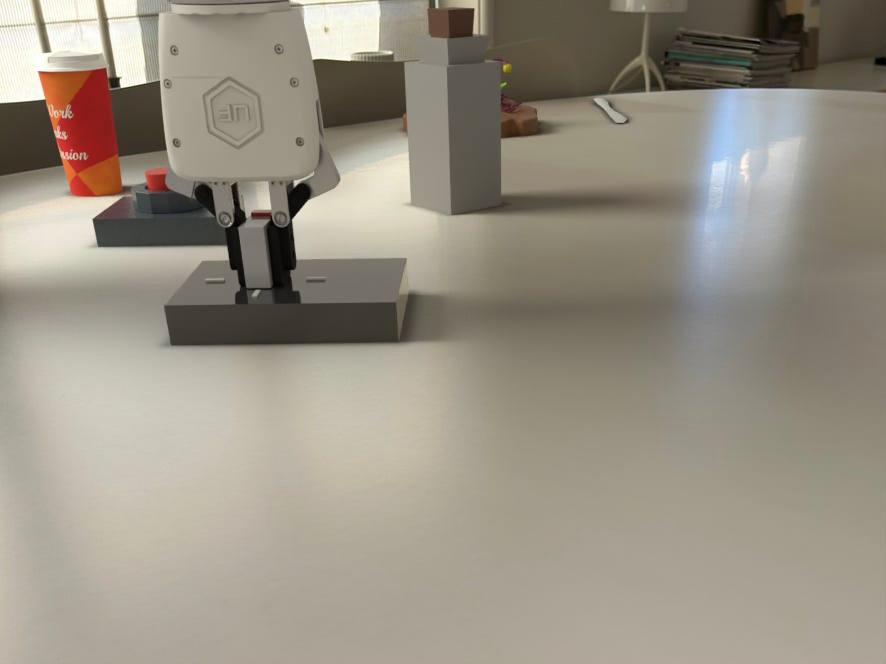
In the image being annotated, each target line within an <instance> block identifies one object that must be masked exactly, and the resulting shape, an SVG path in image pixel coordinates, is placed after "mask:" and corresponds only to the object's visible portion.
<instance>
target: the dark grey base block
mask: <svg viewBox="0 0 886 664" xmlns="http://www.w3.org/2000/svg"><path fill="white" fill-rule="evenodd" d="M192 271H193V272H191V274H190V275H189V276H188V277H187V278H186V280H184V282H183V283H182V284H181V285H180V286H179V287H178V288H177V290H176V291H175V292H174V293H173V294H172V295H171V297H170V298H169V299H168V300H167V302H166V303H164V305H163V309H164V313H165V314H164V315H165V321H166V326H167V332H168V337H169V344H170V346H227V345H229V346H231V345H233V346H235V345H239V346H241V345H302V344H305V345H307V344H309V345H310V344H371V343H373V344H376V343H379V344H380V343H381V344H383V343H399V342H400V338H401V334H402V333H401V332H402V328H403V322H404V318H405V314H406V309H407V304H408V300H409V294H410V291H409V274H408V273H409V272H408V258H407V257H377V258H376V257H375V258H373V257H372V258H371V257H369V258H366V257H365V258H311V259H309V258H305V259H303V258H302V259H301V258H300V259H296V269H295V270H291V275H290V277H289V278H288V279H287V281H286V282H285V284H284V285H276V284H275V283H274V285H273V286H272V287H271V288H246V285H239V281H238V274H237V270H231V268H230V263H229V260H202V261H201V262H200V263H199V264H198V266H197V267H196V268H195V269H194V270H192Z"/></svg>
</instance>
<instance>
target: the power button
mask: <svg viewBox="0 0 886 664" xmlns="http://www.w3.org/2000/svg"><path fill="white" fill-rule="evenodd" d="M167 169H168V166H165V167H156V168H149V169H147V170H146V171H144V176H145V180H146V182H147V187H148V190H154V191H167V190H171V189H169V188H168V187H167V186H166V183H165V178H166V174H167Z"/></svg>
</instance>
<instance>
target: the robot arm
mask: <svg viewBox="0 0 886 664" xmlns="http://www.w3.org/2000/svg"><path fill="white" fill-rule="evenodd" d="M166 1H167V2H168V3H170V9H171V10H169V11H162V12H161V11H160V12H159V13H158V21H157V23H158V24H157V25H158V26H157V28H158V29H157V35H158V36H157V39H158V40H157V43H158V44H157V45H158V47H157V48H158V50H157V51H158V53H157V54H158V69H159V70H158V71H159V86H160V100H161V110H162V111H161V113H162V121H163V122H162V123H163V131H164V139H165V147H166V153H167V158H168V164H167V167H168V169H167V174H166V178H165V183H166V186H167V187H168V188H169V189H171V190H173V191H175V192H178V193H180V194H183V195H185V196H188V197H190V198H194V199H197V201H198V202H199V203H201V204H202V205H203V206H204V207H205V208H206V209H207V210H208V211H209V212H210V213H211V214H213V215H214V216H215V217H216V218H217V221H218V223H219V224H220V225H221V226H222V227H224V228H225V235H226V242H227V245H226V248H227V254H228V261H229V263H230V268H231V270H237V274H238V281H239V285H246V281H245V274H244V266H243V259H242V252H241V244H240V237H239V230H238V227H239V226H240V225H241V224H242V223H243V222H244V221H245V220H246V219H247V218H248V217H247V216H246V215H245V214H246V211H245V212H244V211H243V208H242V201H241V195H242V194H241V188H240V182H242V183H245V182H247V183H249V182H254V183H255V182H256V183H257V182H267V183H268V191H269V192H268V193H269V201H270V210H272V216H271V217H270V222H271V226H270V227H269V228H268V229H267V237H268V245H269V253H270V261H271V270H272V278H273V283H275V284H276V285H284V284H285V282H286V281H287V279H288V278H289V277H290V275H291V270H295V269H296V260H297V252H296V244H295V243H296V242H295V233H294V224H293V219H294V218H295V217H296V216H297V215H298V213H299V212H300V211H301V209H302V208H303V207H305V205H306V204H307V202H309V201H310V200H312V199H315V198H317V197H319V196H321V195H324V194H326V193H327V192H330V191H332V190H334V189H335V188H337V187H338V185H339V184H340V183H341V175H340V172H339V170H338V168H337V166H336V164H335V162H334V159H333V157H332V155H331V153H330V151H329V149H328V146H327V144H326V140H325V129H324V122H323V121H324V120H323V114H322V107H321V99H320V95H319V87H318V83H317V82H318V81H317V77H316V71H315V66H314V60H313V56H312V50H311V46H310V42H309V37H308V33H307V29H306V26H305V21H304V18H303V14H302V11H301V9H300V8H296V7H293V8H292V7H291V0H166ZM312 174H313V175H312ZM310 175H311V176H310ZM309 176H310V177H309ZM302 179H303V180H302ZM298 180H300V181H299V182H297V183H296V185H295V181H298Z"/></svg>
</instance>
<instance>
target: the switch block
mask: <svg viewBox="0 0 886 664" xmlns="http://www.w3.org/2000/svg"><path fill="white" fill-rule="evenodd" d="M130 192H131V196H127V195H126V196H121V197H120V198H119V199H118V200H116V201H115V202H113V203H112V204H111V205H109V206H108V207H107V208H105V209H104V210H103V211H101V212H100V213H99V214H97V215H95V216H94V217H93V218H92V219H91V220H92V225H93V229H94V236H95V240H96V244H97V247H98V248H113V247H114V248H115V247H119V248H120V247H177V246H179V247H182V246H189V247H190V246H227V242H226V235H225V228H224V227H222V226H221V225H220V224H219V223H218V221H217V218H216V217H215V216H214V215H213V214H211V213H210V212H209V211H208V210H207V209H206V208H205V207H204V206H203V205H202V204H201V203H199V202H198V201H197V199H194V198H190V197H188V196H185V195H183V194H180V193H178V192H175V191H173V190H167V191H154V190H148V187H147V181H146V182H141V183H138V184H135V185H134V186H132V187H131V188H130ZM241 201H242V208H243V211H244V212H245V215H246V208H245V200H244V195H243V194H241Z"/></svg>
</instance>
